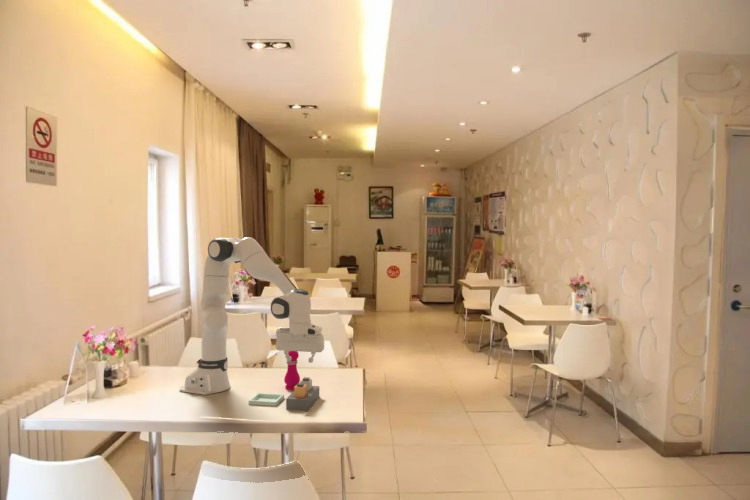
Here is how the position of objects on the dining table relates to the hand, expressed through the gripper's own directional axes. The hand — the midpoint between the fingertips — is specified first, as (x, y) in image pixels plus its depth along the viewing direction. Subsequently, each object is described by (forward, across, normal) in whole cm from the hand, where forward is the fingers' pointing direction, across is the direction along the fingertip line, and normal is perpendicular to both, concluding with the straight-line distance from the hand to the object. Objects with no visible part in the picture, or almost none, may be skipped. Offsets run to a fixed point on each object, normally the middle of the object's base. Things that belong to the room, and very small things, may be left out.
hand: (299, 361), depth 207 cm
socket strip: (+19, 0, +4) cm, 19 cm away
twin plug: (+17, 0, +8) cm, 19 cm away
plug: (+17, 0, 0) cm, 17 cm away
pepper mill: (+19, -11, +22) cm, 31 cm away
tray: (+19, -16, +3) cm, 25 cm away
